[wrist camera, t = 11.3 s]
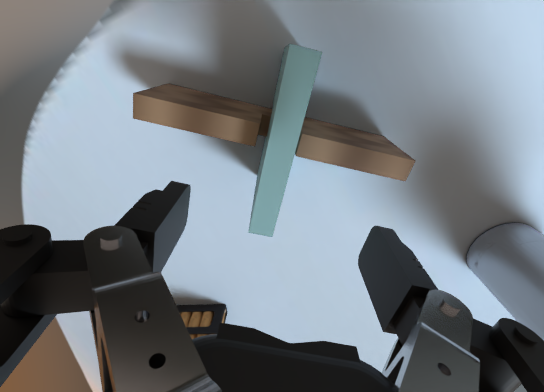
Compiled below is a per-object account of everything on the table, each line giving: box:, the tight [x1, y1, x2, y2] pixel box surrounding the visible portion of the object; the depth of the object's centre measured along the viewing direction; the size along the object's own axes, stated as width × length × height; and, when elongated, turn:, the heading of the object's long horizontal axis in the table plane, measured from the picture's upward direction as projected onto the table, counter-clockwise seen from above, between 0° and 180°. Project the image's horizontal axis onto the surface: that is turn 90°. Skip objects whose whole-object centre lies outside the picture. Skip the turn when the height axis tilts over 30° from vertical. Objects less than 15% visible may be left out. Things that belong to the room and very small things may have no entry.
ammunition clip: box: [177, 304, 227, 339], centre depth 39 cm, size 11×2×12 cm, turn 93°
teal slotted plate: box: [249, 44, 322, 237], centre depth 25 cm, size 2×14×12 cm, turn 168°
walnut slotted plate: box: [133, 84, 415, 181], centre depth 27 cm, size 24×2×8 cm, turn 77°
